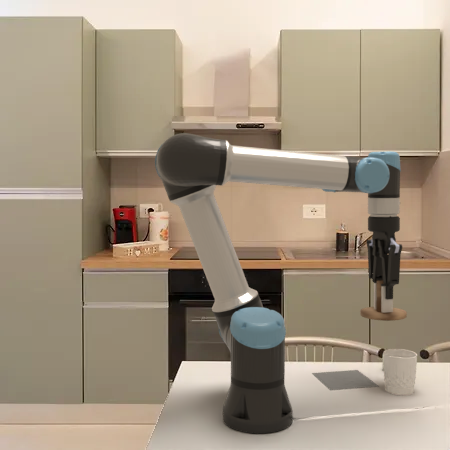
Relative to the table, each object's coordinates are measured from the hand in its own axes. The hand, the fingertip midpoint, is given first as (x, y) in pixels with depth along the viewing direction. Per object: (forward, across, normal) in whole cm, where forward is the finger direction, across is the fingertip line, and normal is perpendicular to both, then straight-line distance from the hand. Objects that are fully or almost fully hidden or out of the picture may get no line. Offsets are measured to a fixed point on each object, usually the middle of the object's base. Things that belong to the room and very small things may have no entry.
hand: (383, 310), depth 144 cm
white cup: (+20, -4, -2) cm, 21 cm away
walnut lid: (+1, 0, 0) cm, 1 cm away
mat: (+20, +7, +7) cm, 22 cm away
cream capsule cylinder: (+20, +10, -9) cm, 24 cm away
